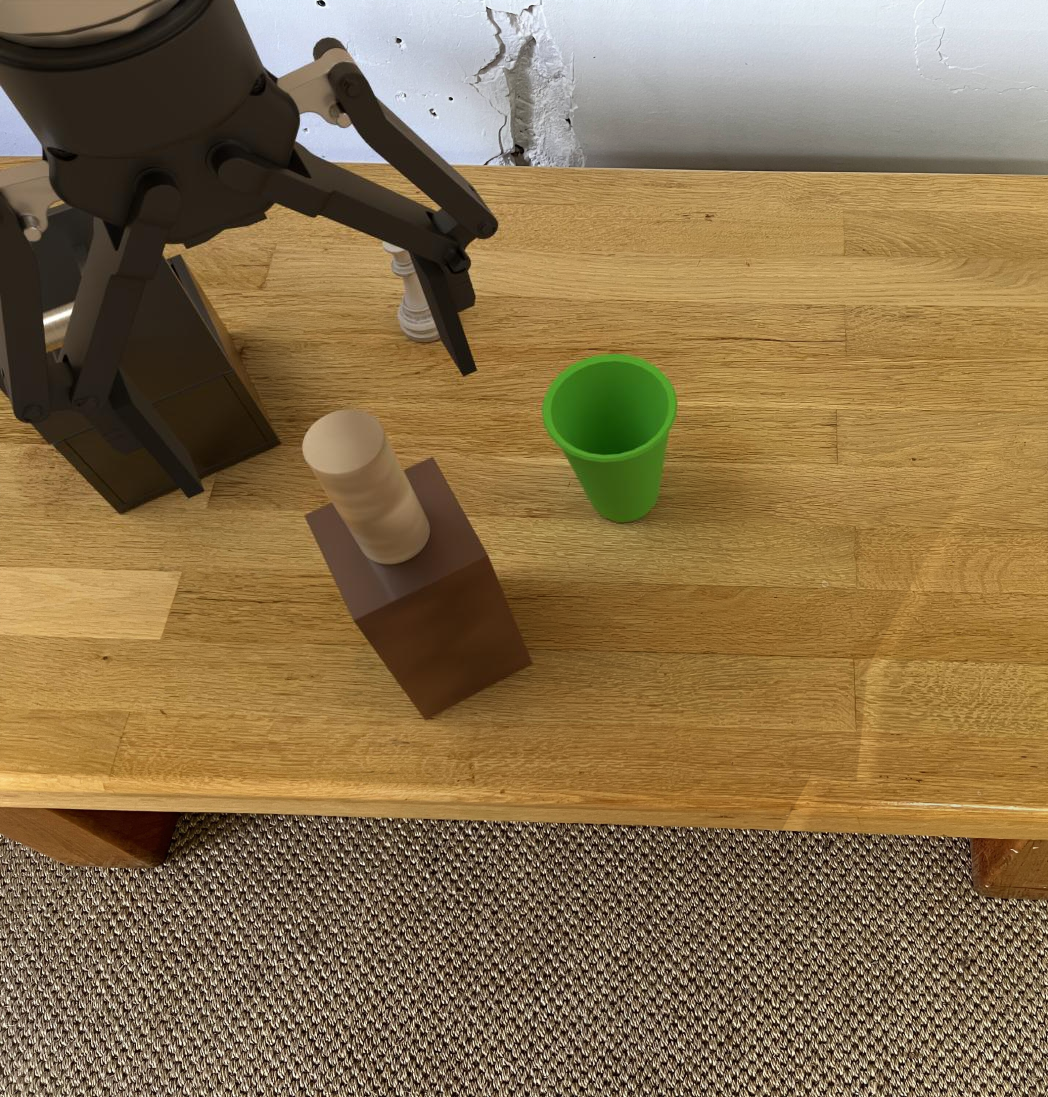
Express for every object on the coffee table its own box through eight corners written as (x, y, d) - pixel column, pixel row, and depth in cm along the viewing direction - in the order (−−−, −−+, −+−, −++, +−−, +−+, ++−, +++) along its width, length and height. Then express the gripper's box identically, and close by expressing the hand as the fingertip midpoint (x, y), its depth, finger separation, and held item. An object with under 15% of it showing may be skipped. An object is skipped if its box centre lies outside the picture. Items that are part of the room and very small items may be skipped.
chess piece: (464, 316, 87) (434, 224, 78) (432, 350, 85) (398, 260, 76) (423, 297, 88) (389, 205, 79) (390, 331, 86) (352, 240, 77)
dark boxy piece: (76, 393, 83) (9, 317, 75) (229, 332, 86) (180, 253, 78) (119, 514, 77) (52, 445, 69) (281, 444, 80) (234, 370, 73)
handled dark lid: (-107, 262, 58) (-96, 349, 53) (119, 183, 61) (149, 258, 56) (47, 437, 69) (68, 522, 64) (230, 363, 72) (263, 438, 68)
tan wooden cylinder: (374, 576, 57) (318, 486, 49) (349, 524, 59) (290, 429, 51) (441, 544, 58) (396, 451, 50) (414, 494, 60) (366, 396, 52)
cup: (672, 553, 75) (663, 468, 66) (552, 537, 76) (526, 450, 66) (693, 455, 80) (688, 361, 70) (580, 440, 80) (559, 345, 71)
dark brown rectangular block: (425, 720, 68) (353, 621, 56) (380, 628, 72) (303, 514, 59) (533, 663, 71) (488, 554, 58) (485, 577, 74) (432, 456, 61)
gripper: (421, -187, 36) (529, 266, 54) (-394, 46, 29) (43, 470, 47) (514, -87, 32) (595, 359, 51) (-381, 201, 26) (83, 592, 44)
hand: (328, 413), depth 49 cm, fingers open, 13 cm apart
